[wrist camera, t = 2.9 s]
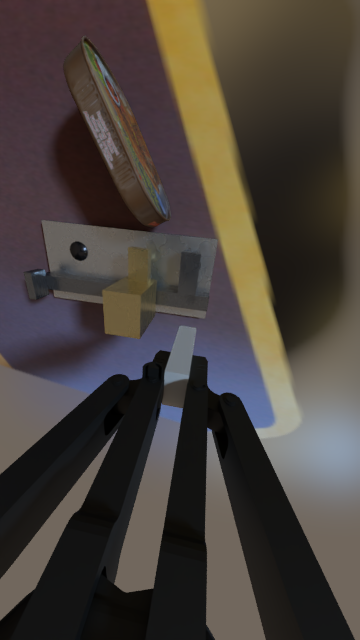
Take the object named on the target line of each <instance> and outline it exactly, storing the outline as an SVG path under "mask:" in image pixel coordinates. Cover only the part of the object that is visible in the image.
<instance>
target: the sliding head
mask: <svg viewBox="0 0 360 640" xmlns="http://www.w3.org/2000/svg"><path fill="white" fill-rule="evenodd" d="M150 275H151V249H150V248H142V247H133V246H132V247H128V276H126V277H125V278H123V279H121V280H119V281H118V282H116V283H114V284H112V285H110V286H109V287H107V288H105V289H103V290H102V295H103V310H104V325H105V334H111V335H118V336H124V337H131V338H137V339H140V338H141V337H142V335H143V333H144V332H145V330H146V329H147V327H148V326H149V324H150V323H151V321H152V319H153V318H154V316H155V309H156V289H157V280H153V279H150Z"/></svg>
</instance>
